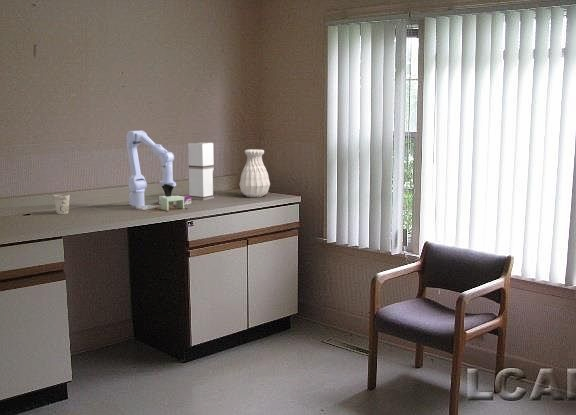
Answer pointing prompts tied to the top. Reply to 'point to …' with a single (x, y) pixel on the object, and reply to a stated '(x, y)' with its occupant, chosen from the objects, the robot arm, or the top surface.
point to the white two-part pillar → (201, 170)
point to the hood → (178, 200)
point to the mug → (62, 203)
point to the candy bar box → (186, 200)
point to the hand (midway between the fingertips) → (168, 197)
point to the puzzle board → (159, 210)
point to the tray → (145, 207)
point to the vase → (254, 175)
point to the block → (170, 204)
